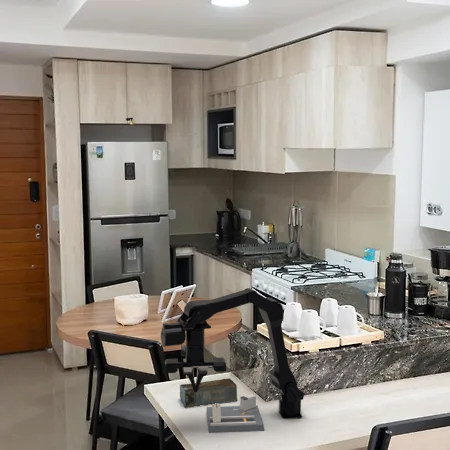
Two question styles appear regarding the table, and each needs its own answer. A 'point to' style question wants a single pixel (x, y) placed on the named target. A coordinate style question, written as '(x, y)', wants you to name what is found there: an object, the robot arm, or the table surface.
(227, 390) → the weathered grey box
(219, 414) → the fader tab
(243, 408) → the grey rectangular block
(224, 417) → the console board
